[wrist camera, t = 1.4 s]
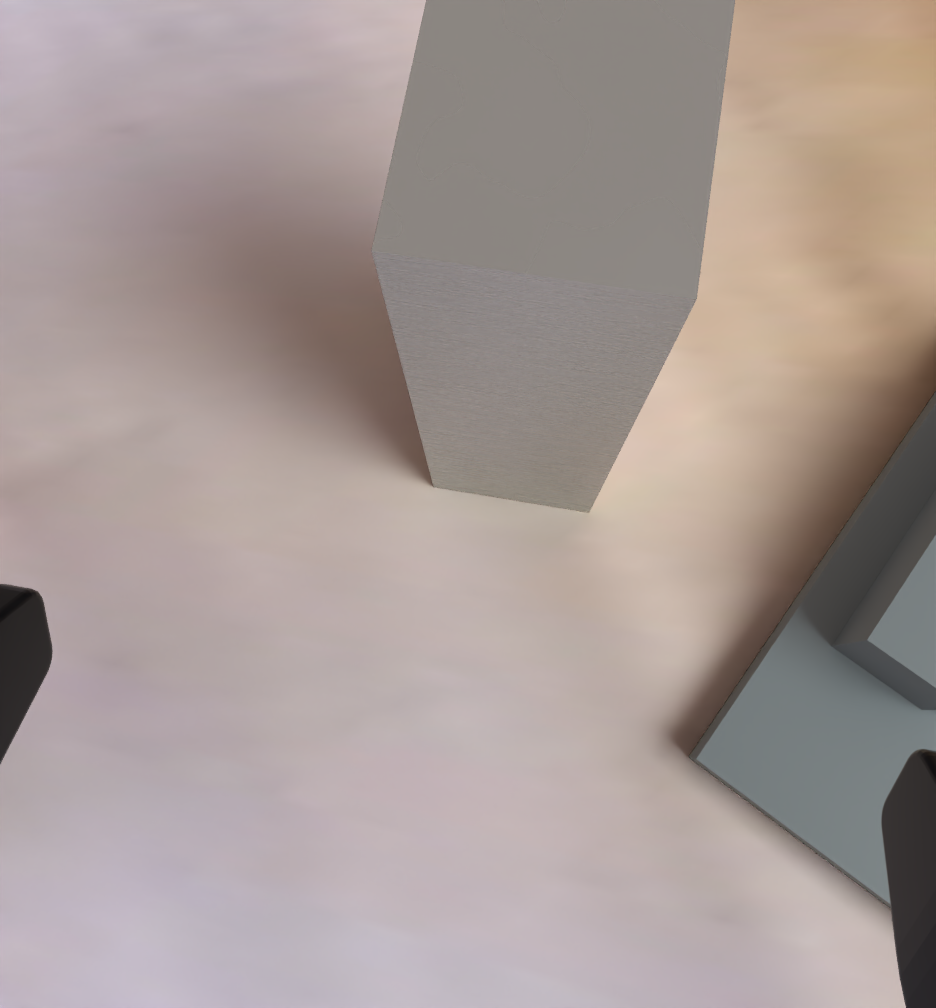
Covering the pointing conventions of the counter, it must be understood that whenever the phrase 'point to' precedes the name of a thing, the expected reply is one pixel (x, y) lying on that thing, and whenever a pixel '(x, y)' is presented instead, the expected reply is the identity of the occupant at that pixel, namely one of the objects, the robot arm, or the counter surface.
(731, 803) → the counter surface
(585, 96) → the steel block
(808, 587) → the stepped grey baseplate
